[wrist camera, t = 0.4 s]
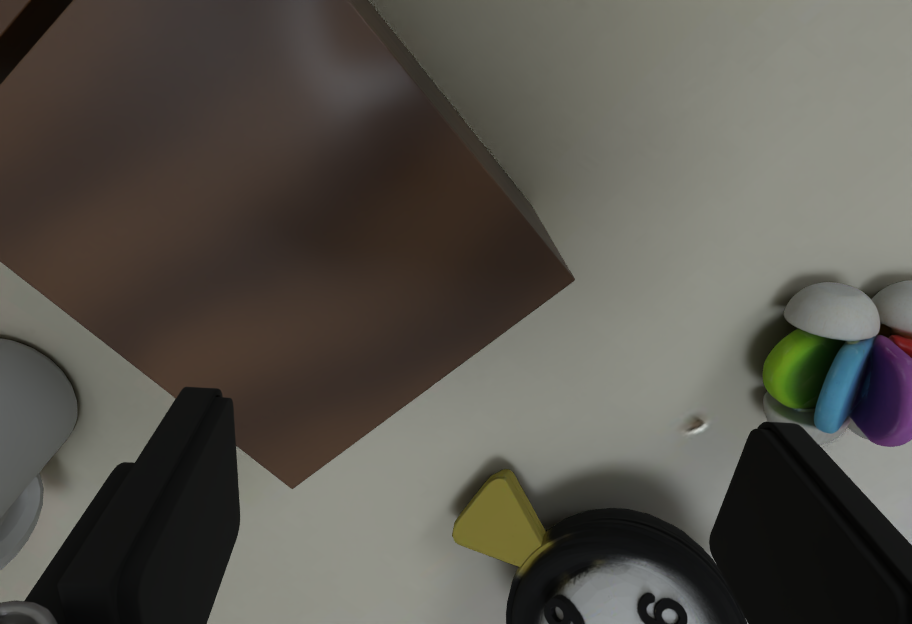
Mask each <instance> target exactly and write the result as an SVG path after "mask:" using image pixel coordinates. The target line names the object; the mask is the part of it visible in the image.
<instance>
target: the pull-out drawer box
mask: <svg viewBox="0 0 912 624" xmlns="http://www.w3.org/2000/svg"><path fill="white" fill-rule="evenodd" d="M72 1H73V0H0V84H1V83H2V82H3V81H4V80H5V78H6V77H7V76H8V75H9V74H10V73H11V71H12V70H13V69H14V68H15V67H16V66H17V65H18V63H19V62H20V61H21V60H22V59H23V58H24V56H25V55H26V54H27V53H28V52H29V51H30V49H31V48H32V47H33V46H34V45H35V44H36V43H37V41H38V40H39V39H40V38H41V37H42V36H43V34H44V33H45V32H46V31H47V30H48V29H49V27H50V26H51V25H52V24H53V23H54V22H55V20H56V19H57V18H58V17H59V16H60V15H61V14H62V12H63V11H64V10H65V9H66V8H67V7H68V5H69V4H70V3H71V2H72Z"/></svg>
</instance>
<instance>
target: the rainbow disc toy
mask: <svg viewBox="0 0 912 624" xmlns="http://www.w3.org/2000/svg"><path fill="white" fill-rule="evenodd" d="M784 317H785V319H786V320H787V321H788V322H789V323H790V324H792V325H793V326H795V327H797V328H798V329H796V330H794V331H793V332H791V333H790V334H789V335H787V336H786V337H785V338H783V339H782V340H781V341H780V342H779V343H778V344H777V345H776V346H775V347H774V348H773V349H772V350H771V352H770V353H769V355H768V356H767V358H766V360H765V362H764V367H763V383H764V386H765V388H766V390H767V391H768V392H767V393H766V394H765V395H764V398H763V408H764V413H765V416H766V418H767V420H768V422H783V423H795V424H799V425H800V426H801V427H803V428H804V429H805V431H806V432H807V433H808V434H809V435H810V436H811V437H812V438H813V439H814V440H815V441H816V442H817V444H818V445H820V444H824V443H827V442H830V441H832V440H834V439H836V438H838V437H839V436H840V435H841V434H842V433H843V432H844V431H845V430H846V429H847V427H848V428H849V429H850V430H851V431H852V432H854V433H855V434H857V435H859V436H860V437H863V438H865V439H868V440H870V441H871V442H873V443H875V444H877V445H881V446H887V447H894V446H900V445H903V444H905V443H907V442H909V441H910V440H912V280H909V281H901V282H897V283H894V284H892V285H889V286H887V287H885V288H884V289H882V290H881V291H879V292H878V293H877V294H876V295H875V296H874V297H873V298H872V299H870V298H869V297H868V296H867V295H866V294H865V293H864V292H862V291H861V290H859V289H857V288H855V287H852V286H849V285H845V284H841V283H834V282H822V283H817V284H813V285H810V286H808V287H806V288H804V289H802V290H801V291H799V292H798V293H796V294H795V295H794V296H793V297H792V298H791V300H790V301H789V302H788V304H787V306H786V308H785V310H784ZM880 323H882V324H880Z"/></svg>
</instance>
